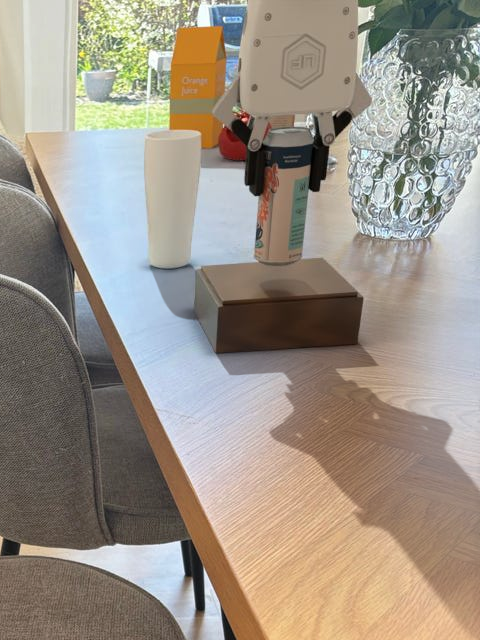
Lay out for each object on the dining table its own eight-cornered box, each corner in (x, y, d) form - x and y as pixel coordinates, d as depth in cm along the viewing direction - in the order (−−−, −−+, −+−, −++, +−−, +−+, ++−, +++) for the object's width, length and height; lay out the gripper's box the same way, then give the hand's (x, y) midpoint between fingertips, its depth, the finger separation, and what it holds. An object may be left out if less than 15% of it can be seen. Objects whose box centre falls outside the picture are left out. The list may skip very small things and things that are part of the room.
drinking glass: (140, 258, 129) (142, 131, 121) (192, 255, 129) (198, 127, 120) (144, 273, 124) (147, 140, 115) (199, 269, 123) (205, 136, 115)
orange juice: (180, 140, 202) (183, 26, 190) (222, 140, 198) (229, 23, 187) (168, 147, 196) (171, 29, 184) (211, 148, 192) (217, 27, 181)
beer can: (256, 254, 103) (266, 126, 96) (304, 255, 101) (317, 125, 94) (250, 267, 99) (260, 134, 92) (299, 268, 98) (313, 133, 91)
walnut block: (320, 302, 109) (326, 255, 107) (357, 344, 98) (364, 292, 95) (193, 311, 110) (195, 264, 107) (215, 353, 99) (218, 302, 96)
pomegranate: (255, 150, 187) (259, 95, 182) (281, 158, 179) (286, 100, 174) (207, 156, 185) (209, 100, 180) (230, 165, 177) (234, 106, 172)
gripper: (213, -25, 83) (202, 206, 94) (417, -42, 83) (383, 193, 93) (198, -27, 89) (190, 190, 100) (388, -43, 89) (360, 177, 99)
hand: (283, 189), depth 96 cm, fingers closed on beer can, 4 cm apart
